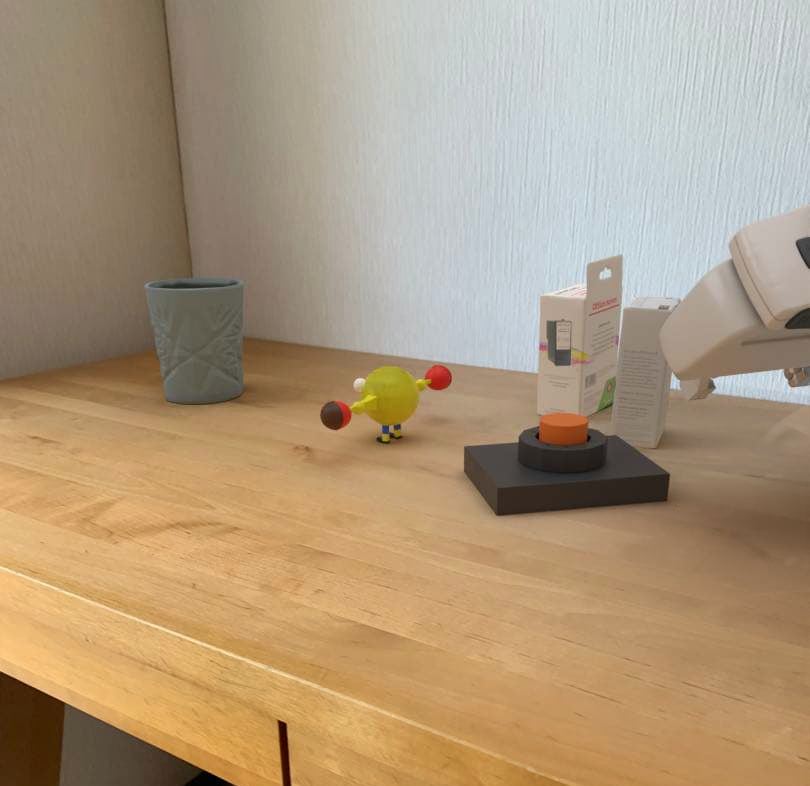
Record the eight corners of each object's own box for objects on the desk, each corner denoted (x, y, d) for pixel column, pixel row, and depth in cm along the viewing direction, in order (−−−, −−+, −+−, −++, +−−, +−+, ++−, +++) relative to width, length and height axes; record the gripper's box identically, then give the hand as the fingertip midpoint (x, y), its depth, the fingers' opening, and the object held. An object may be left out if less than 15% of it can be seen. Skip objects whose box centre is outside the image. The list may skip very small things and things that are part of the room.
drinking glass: (141, 396, 97) (125, 284, 92) (214, 379, 104) (203, 274, 99) (197, 410, 91) (183, 291, 86) (271, 391, 98) (262, 280, 93)
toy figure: (420, 413, 88) (419, 345, 85) (467, 421, 85) (468, 351, 82) (301, 461, 75) (295, 383, 72) (352, 473, 72) (348, 392, 69)
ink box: (571, 396, 93) (580, 250, 87) (616, 403, 90) (627, 252, 84) (533, 415, 87) (539, 259, 81) (579, 422, 84) (589, 261, 78)
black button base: (614, 459, 74) (617, 413, 72) (667, 501, 65) (673, 449, 63) (463, 471, 72) (464, 424, 70) (496, 516, 63) (498, 463, 61)
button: (577, 433, 69) (578, 411, 68) (594, 446, 65) (595, 424, 65) (532, 436, 68) (533, 414, 67) (547, 450, 65) (548, 427, 64)
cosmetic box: (618, 427, 82) (629, 294, 77) (667, 431, 81) (682, 296, 76) (607, 446, 77) (618, 305, 72) (659, 451, 75) (674, 307, 71)
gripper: (976, 213, 57) (835, 338, 70) (717, 226, 51) (612, 362, 63) (1024, 291, 55) (869, 406, 67) (759, 316, 49) (642, 438, 61)
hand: (743, 385), depth 65 cm, fingers open, 8 cm apart
